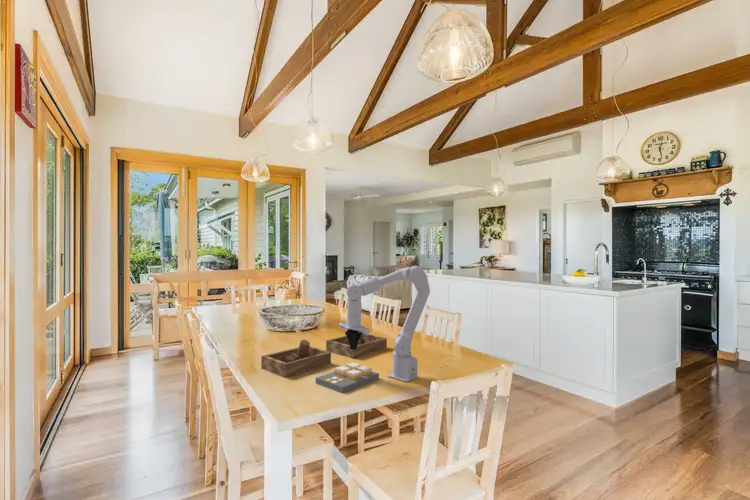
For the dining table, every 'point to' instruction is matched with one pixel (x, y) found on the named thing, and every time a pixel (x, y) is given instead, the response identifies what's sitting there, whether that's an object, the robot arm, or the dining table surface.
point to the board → (344, 381)
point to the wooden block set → (299, 352)
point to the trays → (320, 355)
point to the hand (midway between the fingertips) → (353, 349)
